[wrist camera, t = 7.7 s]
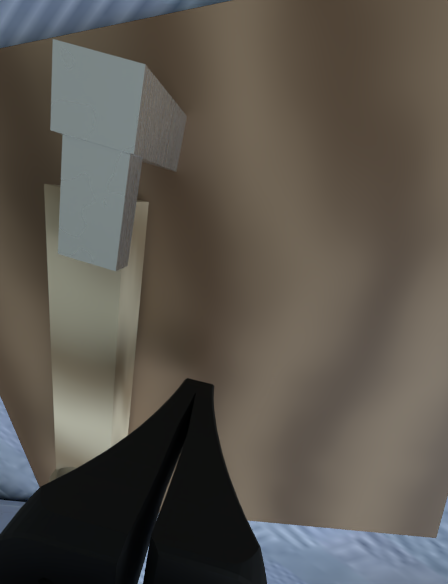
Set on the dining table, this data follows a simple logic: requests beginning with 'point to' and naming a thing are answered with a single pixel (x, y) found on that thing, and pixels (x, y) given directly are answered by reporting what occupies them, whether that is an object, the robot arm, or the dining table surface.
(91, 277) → the swing bar
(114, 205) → the block
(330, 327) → the base board
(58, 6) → the dining table surface
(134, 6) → the dining table surface
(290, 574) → the dining table surface
